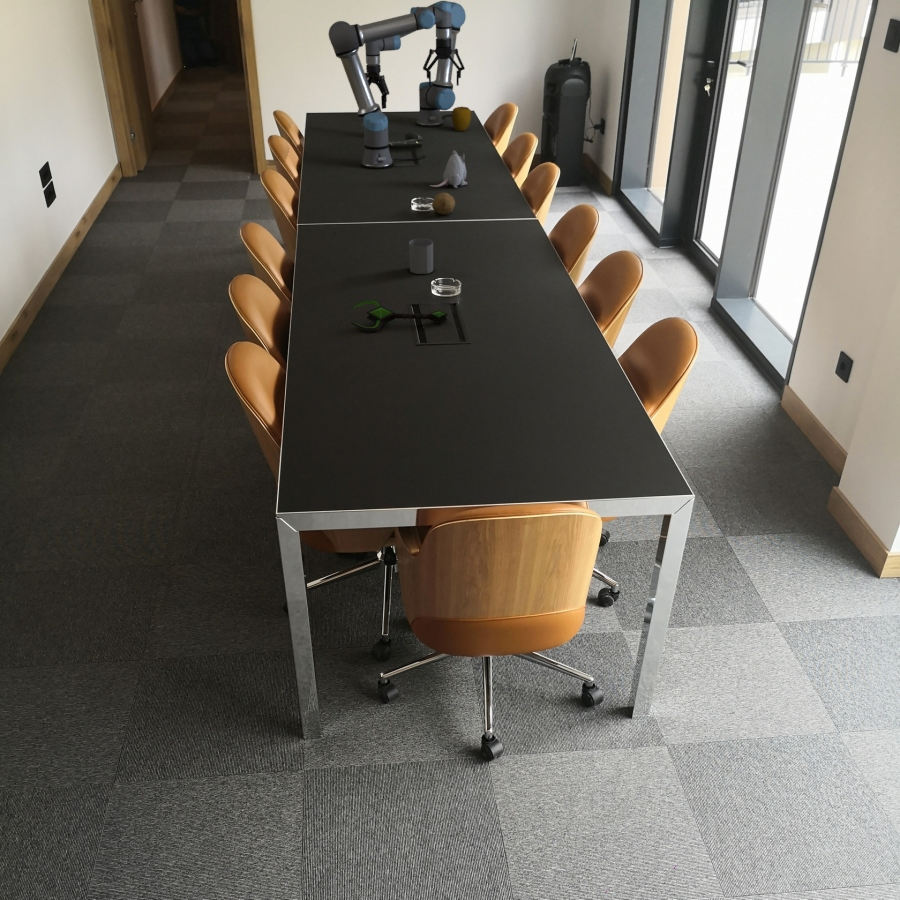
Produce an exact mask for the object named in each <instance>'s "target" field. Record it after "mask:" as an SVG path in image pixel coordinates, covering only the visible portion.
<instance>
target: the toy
mask: <svg viewBox="0 0 900 900" xmlns="http://www.w3.org/2000/svg"><path fill="white" fill-rule="evenodd" d="M466 178H467V168H466V156H465V153H463V154H462V155H459V154H458V153H457V151H456V150H455V149H453V150H452V153H451V155H450V156H449V158H448V161H447V163H446V166H445V170H444V171H443V177H442V179H443V181H442V182H441V183H439V184H436V185H435V184H433V185H432V184H430V185H428V186H429V187H434V188H440V187H443V186H446V187H448V186H449V185H451V186H453V188H455V189H459V187H458V186H461V187H462V186H467V185H468V182H467V181H465V180H466Z"/></svg>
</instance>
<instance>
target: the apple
mask: <svg viewBox="0 0 900 900" xmlns="http://www.w3.org/2000/svg"><path fill="white" fill-rule="evenodd" d="M451 114H452V116H451V121H452V125H453V128H454V129H455V131H457V132H463V131H466V130H467V129H468V128H469V126H470V124H471V121H472V111H471V108H469V107H467V106H462V105H461V106H457V107H454V108H452V111H451Z"/></svg>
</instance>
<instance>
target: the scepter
mask: <svg viewBox="0 0 900 900" xmlns="http://www.w3.org/2000/svg"><path fill="white" fill-rule="evenodd" d="M364 305H374V306H375V308H373V309H370V310H368V311H366V312H365V313H366V314H367V315H368V316H366V317H365V318H366V319H367V320H369V321H371V322H373V323H375V325H374V326H363V325H361V324H358V323H357V322H353V321H351V322H350V324H352V325H353V326H355V327H356V328H358V329H359V330H361V331H364V332H377V331H379V330H380V329H381V327H382V326H383V325H385V324H387V323H390V322H392V321H394V320H397V319H404V320H406V319H407V320H408V319H409V320H413V319H416V320H430V321H432V322H434V323H436V324H442V323H443V322H446V321H448V318H447V316H449V314H448V313H447V312H445V311H441V310H439V309H438V310H436V311H433V312H430V313H403V312H401V313H396V312H395V311H392V310H391V309H389V308H387V307H385V306H383V305H382V303H381V302H380V301H379V300H378V299H377V300H376V299H365V300H362V301H360V302H358V303H356V304H354V305H352V306H351V309H354V308H358V307H361V306H364Z"/></svg>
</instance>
